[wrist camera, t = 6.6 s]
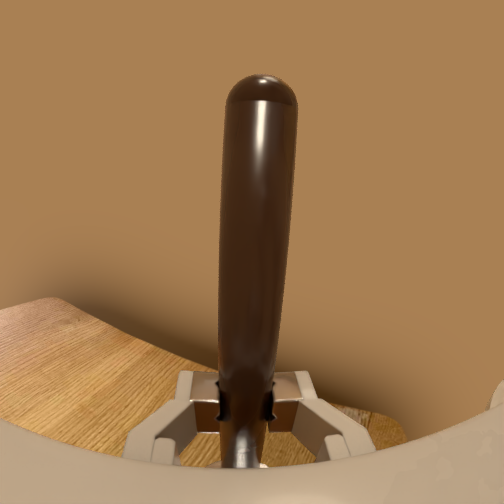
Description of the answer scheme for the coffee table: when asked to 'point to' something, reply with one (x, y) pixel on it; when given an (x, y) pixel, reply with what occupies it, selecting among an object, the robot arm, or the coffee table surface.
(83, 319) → the coffee table surface
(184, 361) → the coffee table surface
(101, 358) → the coffee table surface
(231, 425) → the handle
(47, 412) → the coffee table surface
